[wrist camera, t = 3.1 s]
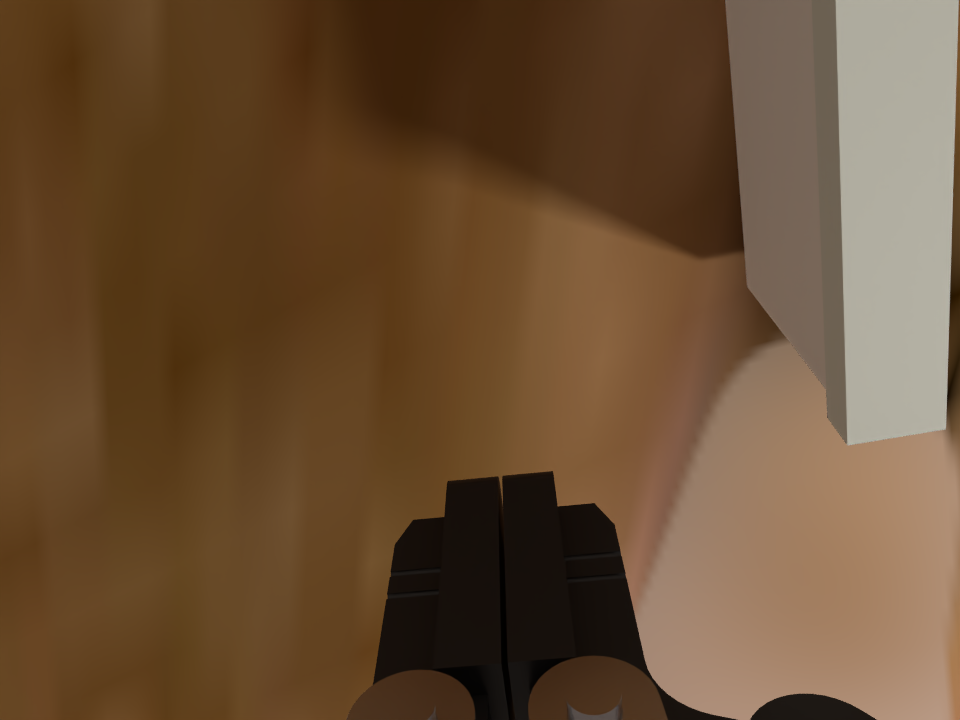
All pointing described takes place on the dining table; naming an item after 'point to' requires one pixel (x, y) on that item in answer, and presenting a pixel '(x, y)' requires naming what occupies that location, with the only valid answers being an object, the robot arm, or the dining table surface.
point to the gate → (851, 196)
